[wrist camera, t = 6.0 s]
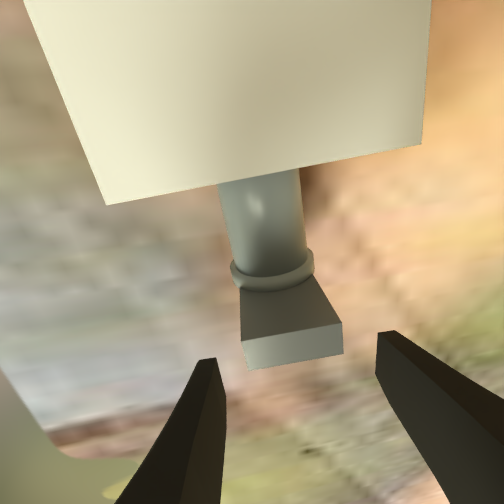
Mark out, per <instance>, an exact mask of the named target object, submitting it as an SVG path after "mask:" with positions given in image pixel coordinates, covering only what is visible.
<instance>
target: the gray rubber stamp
mask: <svg viewBox="0 0 504 504" xmlns="http://www.w3.org/2000/svg"><path fill="white" fill-rule="evenodd" d="M216 185H217V189H218V193H219V198H220V202H221V206H222V211H223V215H224V219H225V224H226V228H227V233H228V237H229V241H230V246H231V250H232V254H233V261H232V262H231V265H230V269H231V273H232V278H233V281H234V284H235V285H236V286H237V287H238V288H240V322H241V343H242V347H243V351H244V355H245V359H246V363H247V367H248V371H252V370H258V369H263V368H269V367H274V366H280V365H285V364H291V363H296V362H302V361H307V360H313V359H318V358H324V357H329V356H334V355H340V354H344V352H343V333H342V322H341V320H340V319H339V317H338V315H337V314H336V312H335V310H334V309H333V307H332V305H331V304H330V302H329V300H328V299H327V297H326V295H325V294H324V292H323V291H322V289H321V287H320V286H319V284H318V282H317V281H316V279H315V277H314V276H313V273H314V269H315V267H314V257H313V253H312V251H311V250H310V249H309V248H308V247H307V243H306V233H305V223H304V214H303V204H302V195H301V185H300V175H299V168H296V169H291V170H286V171H281V172H275V173H270V174H265V175H260V176H255V177H250V178H244V179H239V180H234V181H229V182H224V183H219V184H216Z"/></svg>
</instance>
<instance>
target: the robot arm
mask: <svg viewBox="0 0 504 504" xmlns="http://www.w3.org/2000/svg"><path fill="white" fill-rule="evenodd" d="M375 374H376V377H377V379H378V381H379V383H380V385H381V387H382V389H383V391H384V393H385V395H386V397H387V399H388V401H389V403H390V405H391V407H392V408H393V410H394V412H395V413H396V415H397V417H398V418H399V420H400V421H401V423H402V425H403V426H404V428H405V429H406V431H407V433H408V434H409V436H410V437H411V439H412V441H413V442H414V444H415V445H416V447H417V449H418V450H419V452H420V454H421V455H422V457H423V458H424V460H425V462H426V463H427V465H428V466H429V468H430V470H431V471H432V473H433V474H434V476H435V478H436V479H437V481H438V483H439V485H440V486H441V488H442V490H443V491H444V493H445V495H446V497H447V499H448V500H449V502H450V504H504V399H502V398H501V397H499V396H497V395H495V394H494V393H492V392H490V391H489V390H487V389H485V388H484V387H482V386H480V385H479V384H477V383H475V382H474V381H472V380H470V379H469V378H467V377H466V376H464V375H462V374H461V373H459V372H458V371H456V370H454V369H453V368H451V367H450V366H448V365H447V364H445V363H444V362H442V361H440V360H439V359H437V358H436V357H434V356H433V355H431V354H430V353H428V352H427V351H425V350H424V349H422V348H421V347H419V346H418V345H416V344H415V343H413V342H412V341H410V340H409V339H407V338H406V337H404V336H403V335H401V334H400V333H398V332H397V331H395V330H393V331H386V332H379V333H378V339H377V354H376V370H375ZM225 440H226V394H225V390H224V386H223V383H222V379H221V375H220V371H219V367H218V363H217V359H216V358H209V359H203V360H199V361H198V362H197V364H196V366H195V369H194V371H193V373H192V375H191V377H190V379H189V381H188V383H187V385H186V387H185V389H184V391H183V393H182V395H181V397H180V399H179V401H178V403H177V404H176V406H175V408H174V410H173V412H172V414H171V416H170V417H169V419H168V421H167V423H166V424H165V426H164V428H163V430H162V431H161V433H160V435H159V436H158V438H157V440H156V441H155V443H154V445H153V446H152V448H151V450H150V451H149V453H148V454H147V456H146V458H145V459H144V461H143V462H142V464H141V465H140V467H139V468H138V470H137V471H136V473H135V474H134V476H133V477H132V479H131V480H130V482H129V483H128V485H127V486H126V488H125V489H124V491H123V492H122V493H121V495H120V496H119V498H118V499H117V501H116V502H115V503H114V504H220V499H221V487H222V476H223V464H224V452H225Z"/></svg>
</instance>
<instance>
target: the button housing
mask: <svg viewBox="0 0 504 504" xmlns="http://www.w3.org/2000/svg"><path fill="white" fill-rule="evenodd" d="M23 1H24V4H25V6H26V9H27V11H28V14H29V16H30V19H31V21H32V24H33V26H34V28H35V31H36V33H37V36H38V38H39V41H40V43H41V46H42V48H43V51H44V53H45V55H46V58H47V60H48V63H49V65H50V68H51V70H52V73H53V75H54V78H55V80H56V82H57V85H58V87H59V90H60V92H61V95H62V97H63V100H64V102H65V105H66V107H67V109H68V112H69V114H70V117H71V119H72V122H73V124H74V127H75V129H76V132H77V134H78V136H79V139H80V141H81V144H82V146H83V149H84V151H85V154H86V156H87V159H88V161H89V164H90V166H91V168H92V171H93V173H94V176H95V178H96V181H97V183H98V186H99V188H100V191H101V193H102V195H103V198H104V200H105V203H106V205H111V204H116V203H121V202H126V201H131V200H136V199H141V198H147V197H152V196H157V195H162V194H167V193H172V192H177V191H183V190H188V189H193V188H198V187H203V186H208V185H214V184H219V183H224V182H229V181H234V180H239V179H244V178H250V177H255V176H260V175H265V174H270V173H275V172H281V171H286V170H291V169H296V168H301V167H306V166H311V165H317V164H322V163H327V162H332V161H337V160H342V159H348V158H353V157H358V156H363V155H368V154H373V153H378V152H384V151H389V150H394V149H399V148H404V147H409V146H415V145H420V144H421V141H422V127H423V114H424V100H425V87H426V73H427V59H428V46H429V32H430V18H431V5H432V0H23Z"/></svg>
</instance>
